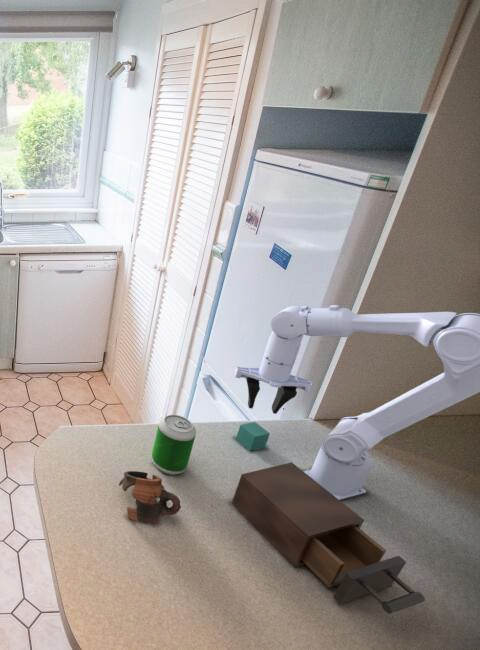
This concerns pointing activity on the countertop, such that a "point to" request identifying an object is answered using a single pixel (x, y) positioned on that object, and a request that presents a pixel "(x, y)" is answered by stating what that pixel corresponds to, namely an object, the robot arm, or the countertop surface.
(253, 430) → the block
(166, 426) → the soda can
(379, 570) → the drawer
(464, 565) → the countertop surface
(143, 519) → the pottery mug
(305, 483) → the cabinet
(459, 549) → the countertop surface
